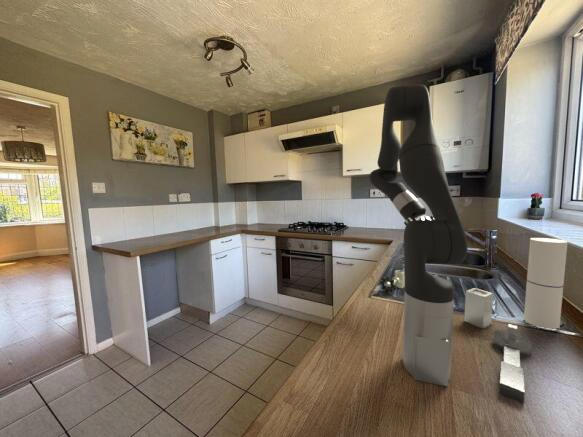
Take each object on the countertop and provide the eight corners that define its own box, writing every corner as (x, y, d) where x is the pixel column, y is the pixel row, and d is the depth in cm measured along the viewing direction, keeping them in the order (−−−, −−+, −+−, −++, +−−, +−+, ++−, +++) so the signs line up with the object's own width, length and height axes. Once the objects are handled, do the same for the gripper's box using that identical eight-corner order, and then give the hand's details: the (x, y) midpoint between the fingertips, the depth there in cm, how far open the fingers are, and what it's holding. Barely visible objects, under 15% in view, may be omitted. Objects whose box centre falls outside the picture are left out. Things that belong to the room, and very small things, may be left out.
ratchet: (493, 335, 64) (494, 316, 64) (530, 346, 59) (531, 325, 59) (487, 388, 47) (488, 362, 46) (537, 409, 42) (540, 380, 42)
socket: (491, 324, 69) (493, 293, 69) (482, 328, 67) (484, 296, 66) (472, 317, 74) (474, 287, 73) (464, 321, 72) (465, 290, 71)
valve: (394, 283, 103) (379, 290, 96) (394, 268, 103) (379, 274, 95) (409, 287, 98) (394, 295, 91) (410, 272, 97) (395, 279, 90)
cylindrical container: (522, 323, 70) (528, 240, 67) (525, 315, 74) (531, 236, 72) (558, 334, 64) (567, 243, 62) (559, 324, 69) (567, 240, 66)
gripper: (401, 200, 80) (433, 239, 71) (428, 198, 86) (460, 234, 77) (388, 214, 85) (416, 252, 76) (414, 211, 91) (443, 246, 83)
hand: (438, 243), depth 77 cm, fingers open, 8 cm apart
